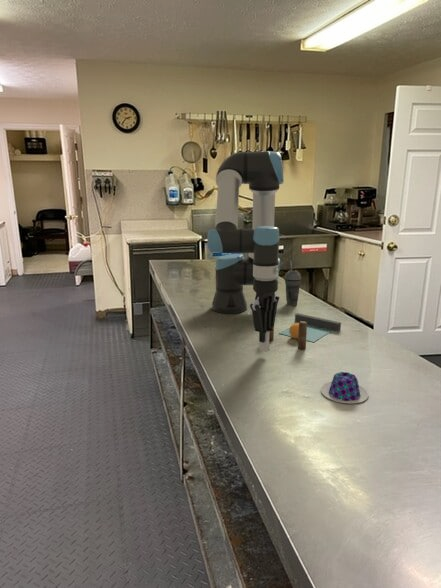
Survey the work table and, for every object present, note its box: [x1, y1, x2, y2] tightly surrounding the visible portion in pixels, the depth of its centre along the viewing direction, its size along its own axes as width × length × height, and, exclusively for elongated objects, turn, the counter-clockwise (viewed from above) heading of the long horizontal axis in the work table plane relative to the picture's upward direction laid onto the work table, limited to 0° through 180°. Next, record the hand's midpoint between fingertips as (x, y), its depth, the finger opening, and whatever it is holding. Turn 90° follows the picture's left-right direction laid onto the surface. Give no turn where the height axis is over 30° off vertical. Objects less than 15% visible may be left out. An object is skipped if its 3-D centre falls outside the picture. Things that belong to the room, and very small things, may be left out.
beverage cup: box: [284, 259, 302, 307], centre depth 189 cm, size 7×7×20 cm
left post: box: [269, 326, 275, 342], centre depth 150 cm, size 3×3×9 cm
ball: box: [289, 322, 299, 340], centre depth 151 cm, size 6×6×6 cm
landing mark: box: [278, 325, 332, 343], centre depth 157 cm, size 14×14×1 cm
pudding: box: [320, 371, 369, 404], centre depth 113 cm, size 12×12×5 cm
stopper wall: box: [294, 313, 342, 333], centre depth 164 cm, size 18×2×3 cm, turn 51°
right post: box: [297, 321, 307, 351], centre depth 142 cm, size 3×3×9 cm
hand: (264, 350), depth 137 cm, fingers closed
